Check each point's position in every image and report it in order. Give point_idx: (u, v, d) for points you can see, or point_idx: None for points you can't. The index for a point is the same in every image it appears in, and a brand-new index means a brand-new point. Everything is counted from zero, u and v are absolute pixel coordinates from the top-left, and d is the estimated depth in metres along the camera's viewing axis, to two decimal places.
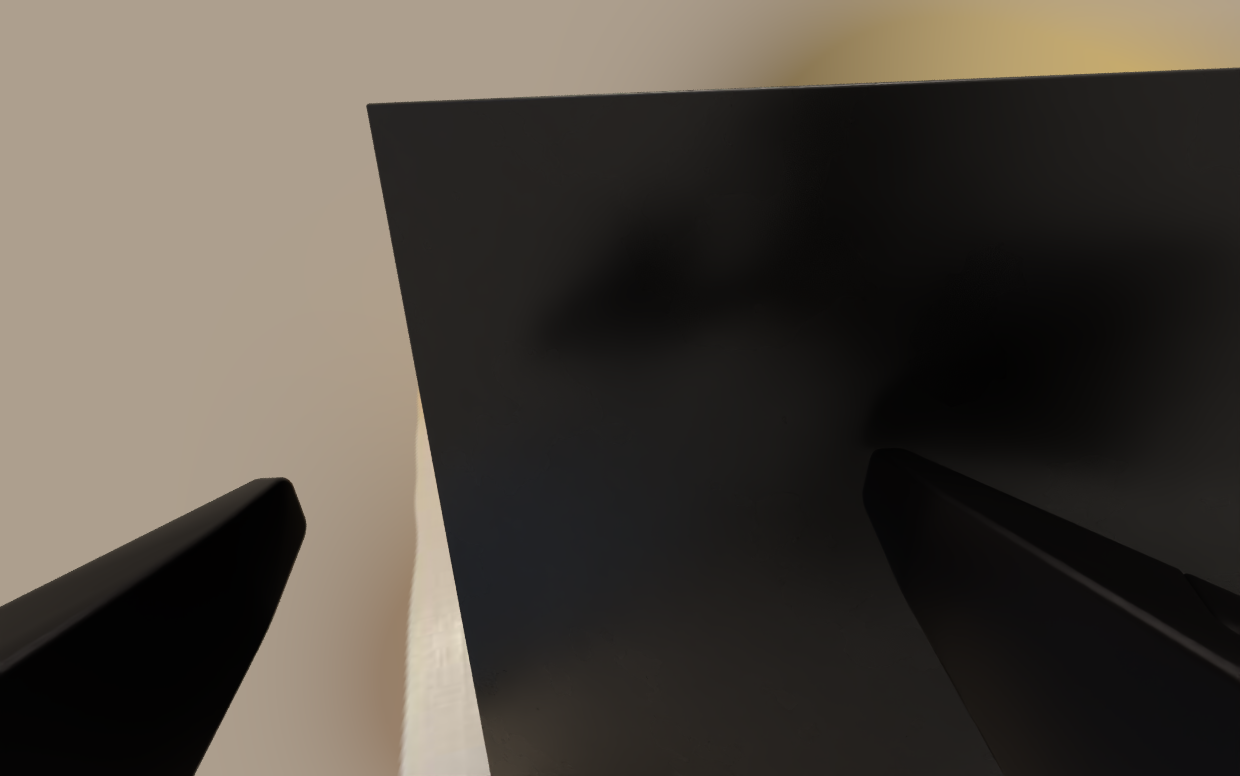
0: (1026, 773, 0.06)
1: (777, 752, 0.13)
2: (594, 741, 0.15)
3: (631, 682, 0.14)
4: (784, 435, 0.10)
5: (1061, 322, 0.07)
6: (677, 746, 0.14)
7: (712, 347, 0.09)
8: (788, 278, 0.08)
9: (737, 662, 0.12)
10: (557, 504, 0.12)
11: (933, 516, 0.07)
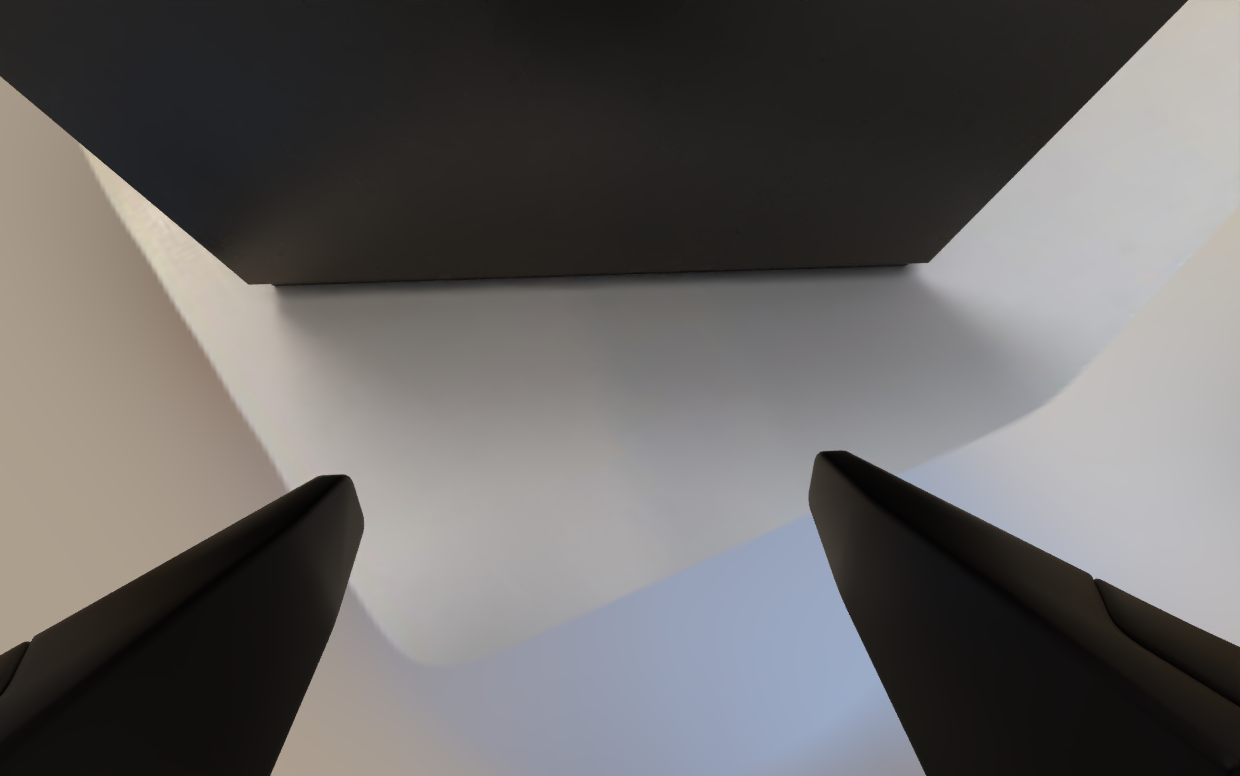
0: None
1: (403, 165, 0.17)
2: (284, 214, 0.19)
3: (264, 146, 0.16)
4: None
5: None
6: (340, 191, 0.18)
7: None
8: None
9: (321, 91, 0.14)
10: None
11: (865, 520, 0.07)
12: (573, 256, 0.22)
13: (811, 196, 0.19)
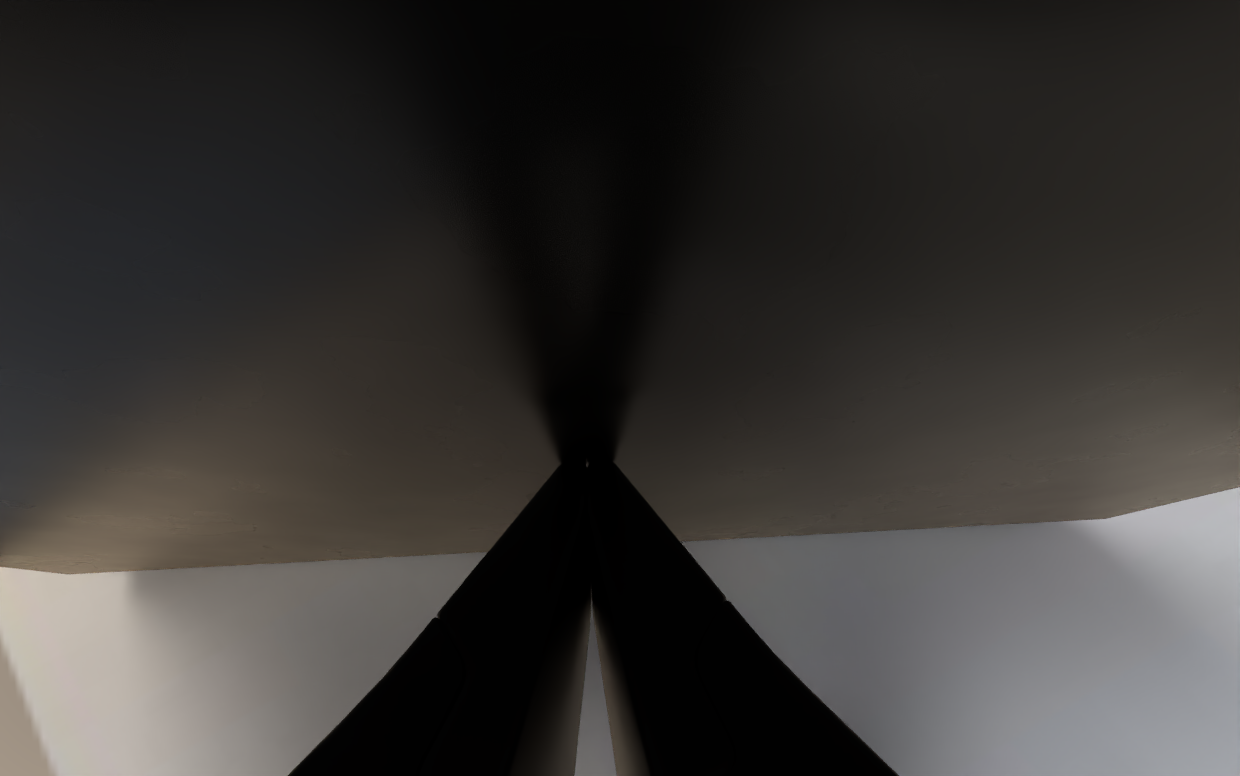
0: None
1: (251, 504, 0.09)
2: (70, 541, 0.11)
3: None
4: None
5: None
6: (152, 524, 0.10)
7: None
8: None
9: (14, 459, 0.06)
10: None
11: (588, 534, 0.07)
12: None
13: (971, 493, 0.11)
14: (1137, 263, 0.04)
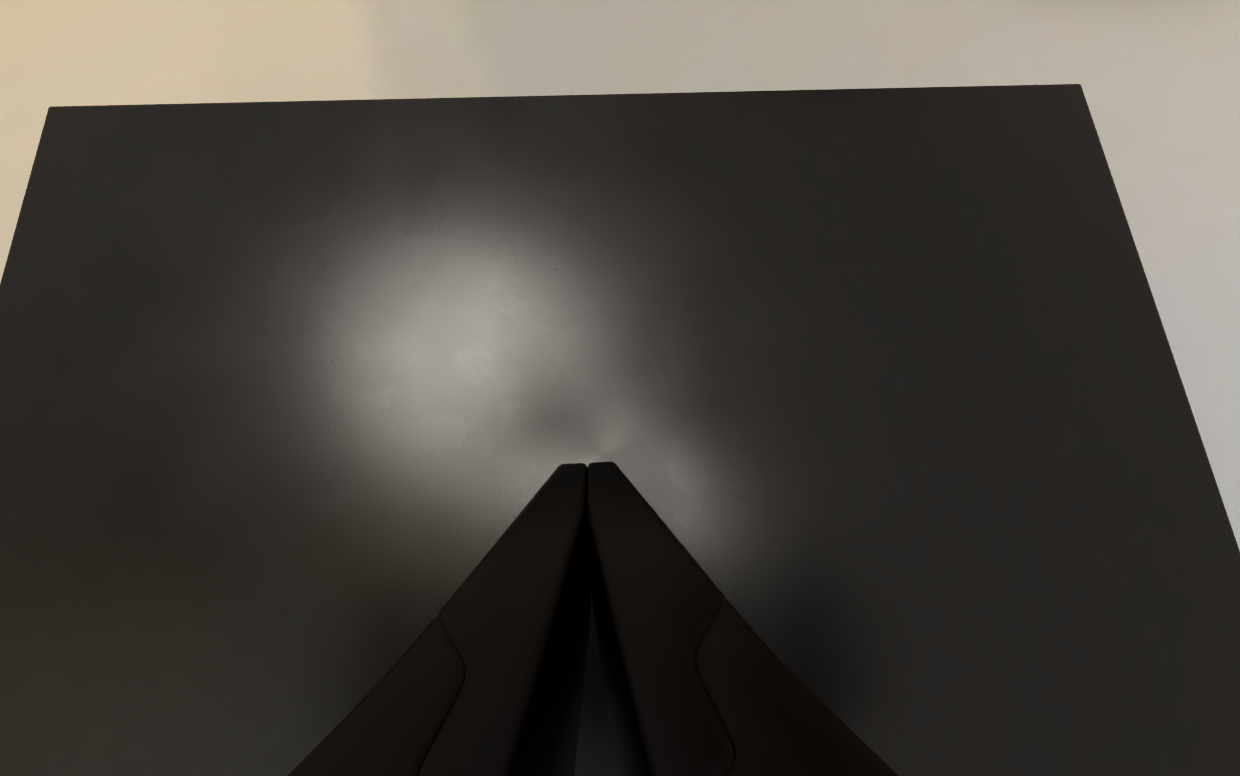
0: None
1: (327, 649, 0.11)
2: None
3: (152, 614, 0.11)
4: (323, 276, 0.14)
5: (462, 189, 0.14)
6: (201, 714, 0.11)
7: (274, 225, 0.14)
8: (323, 181, 0.14)
9: (283, 522, 0.12)
10: (115, 383, 0.13)
11: (588, 535, 0.07)
12: None
13: (976, 706, 0.11)
14: (760, 366, 0.13)
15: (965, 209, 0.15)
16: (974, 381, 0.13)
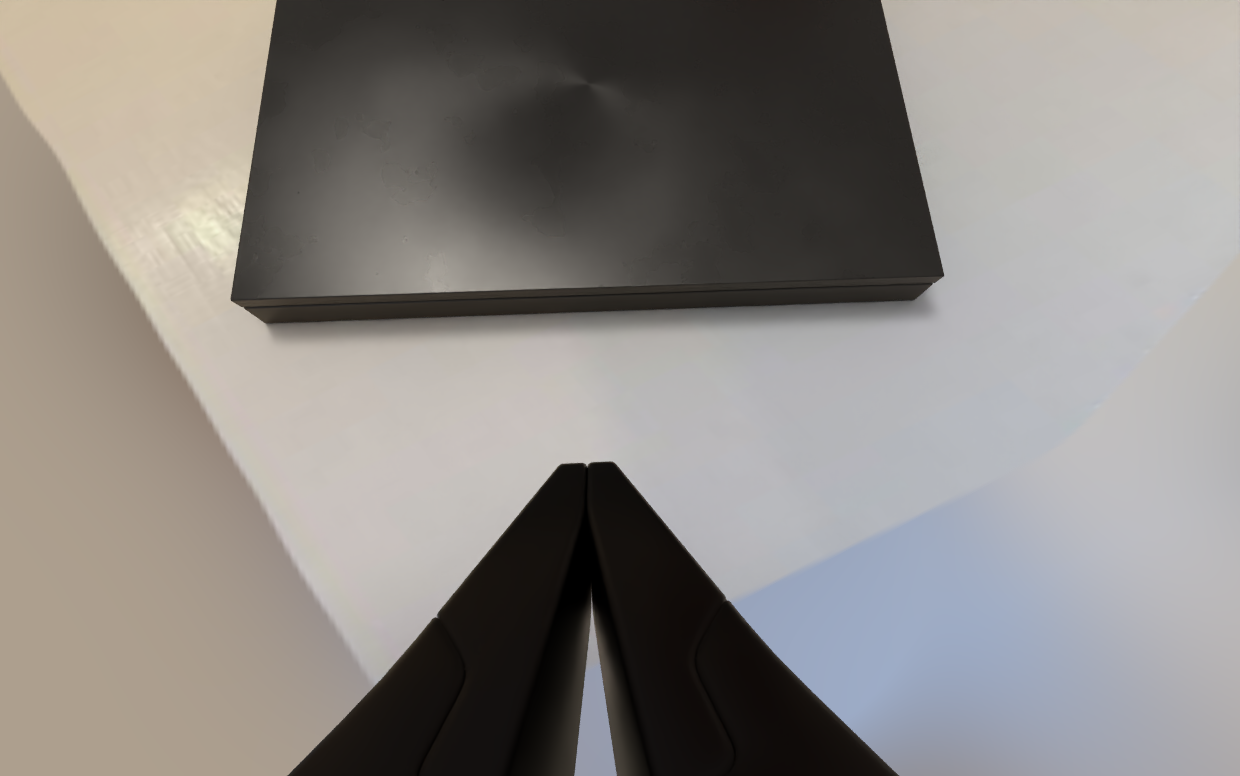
0: None
1: (456, 158, 0.23)
2: (339, 203, 0.23)
3: (371, 143, 0.24)
4: (443, 4, 0.26)
5: None
6: (398, 180, 0.23)
7: None
8: None
9: (431, 108, 0.24)
10: (341, 49, 0.25)
11: (588, 535, 0.07)
12: (573, 259, 0.22)
13: (769, 187, 0.23)
14: (672, 48, 0.25)
15: None
16: (784, 57, 0.25)
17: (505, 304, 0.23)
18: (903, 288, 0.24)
